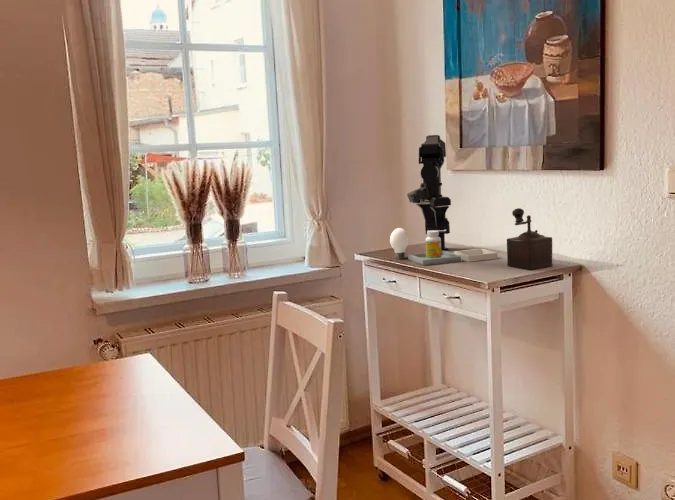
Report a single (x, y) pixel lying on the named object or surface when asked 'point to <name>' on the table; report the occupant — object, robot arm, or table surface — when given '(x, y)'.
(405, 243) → the light bulb
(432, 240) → the supplement bottle
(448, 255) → the tray
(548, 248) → the manual coffee grinder
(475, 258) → the frame
